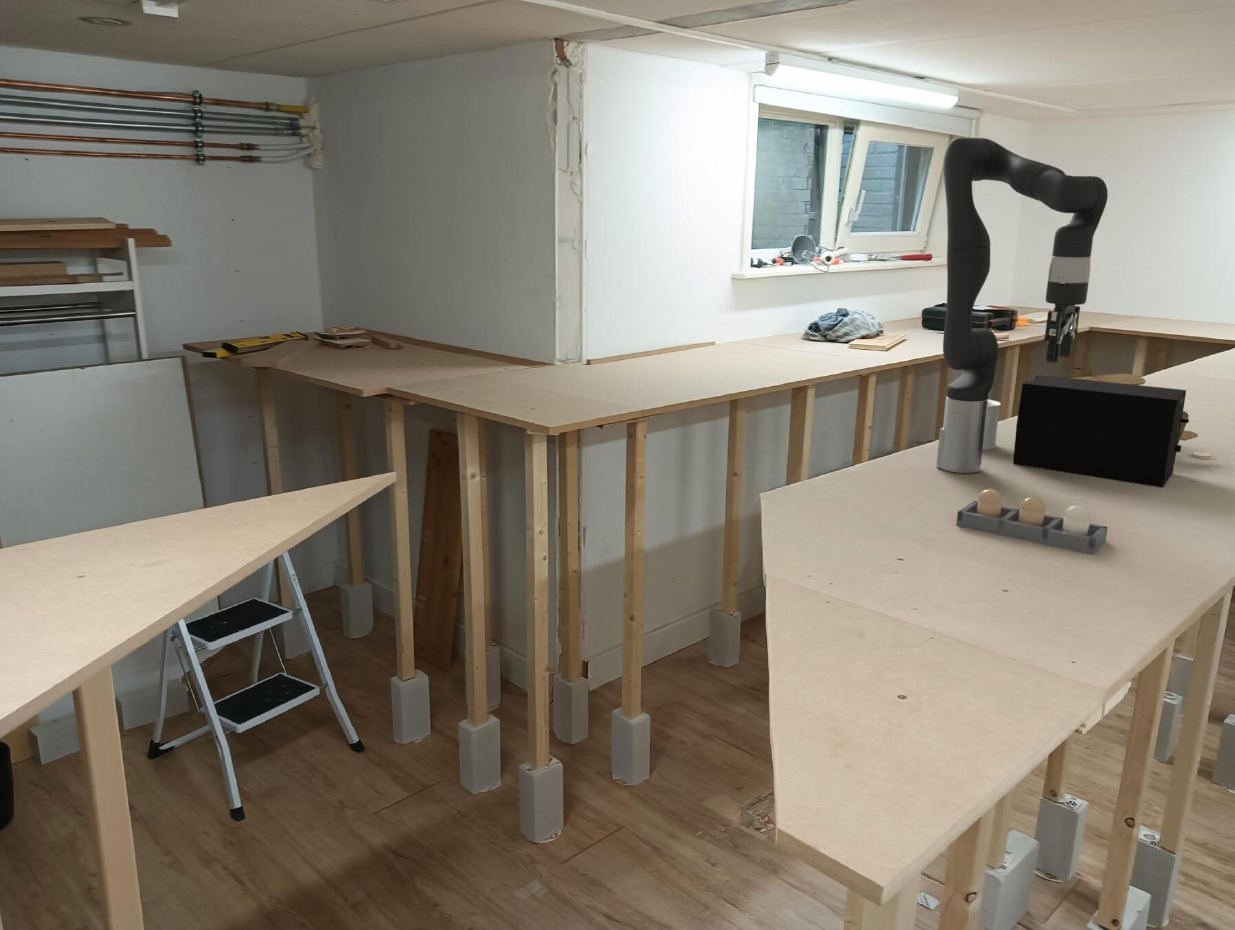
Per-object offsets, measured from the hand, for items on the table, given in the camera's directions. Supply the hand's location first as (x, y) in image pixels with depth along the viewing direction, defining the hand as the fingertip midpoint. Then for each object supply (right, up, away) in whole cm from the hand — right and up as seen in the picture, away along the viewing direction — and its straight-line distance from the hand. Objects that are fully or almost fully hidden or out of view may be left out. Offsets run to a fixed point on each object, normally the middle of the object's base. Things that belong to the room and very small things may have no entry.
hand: (1058, 359), depth 194 cm
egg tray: (-12, -35, -13) cm, 39 cm away
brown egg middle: (-12, -34, -13) cm, 38 cm away
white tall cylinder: (+3, -17, +52) cm, 55 cm away
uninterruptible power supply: (+23, -23, +30) cm, 44 cm away
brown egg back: (-18, -32, -8) cm, 38 cm away
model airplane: (+39, -18, +49) cm, 65 cm away
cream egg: (-5, -35, -18) cm, 40 cm away
